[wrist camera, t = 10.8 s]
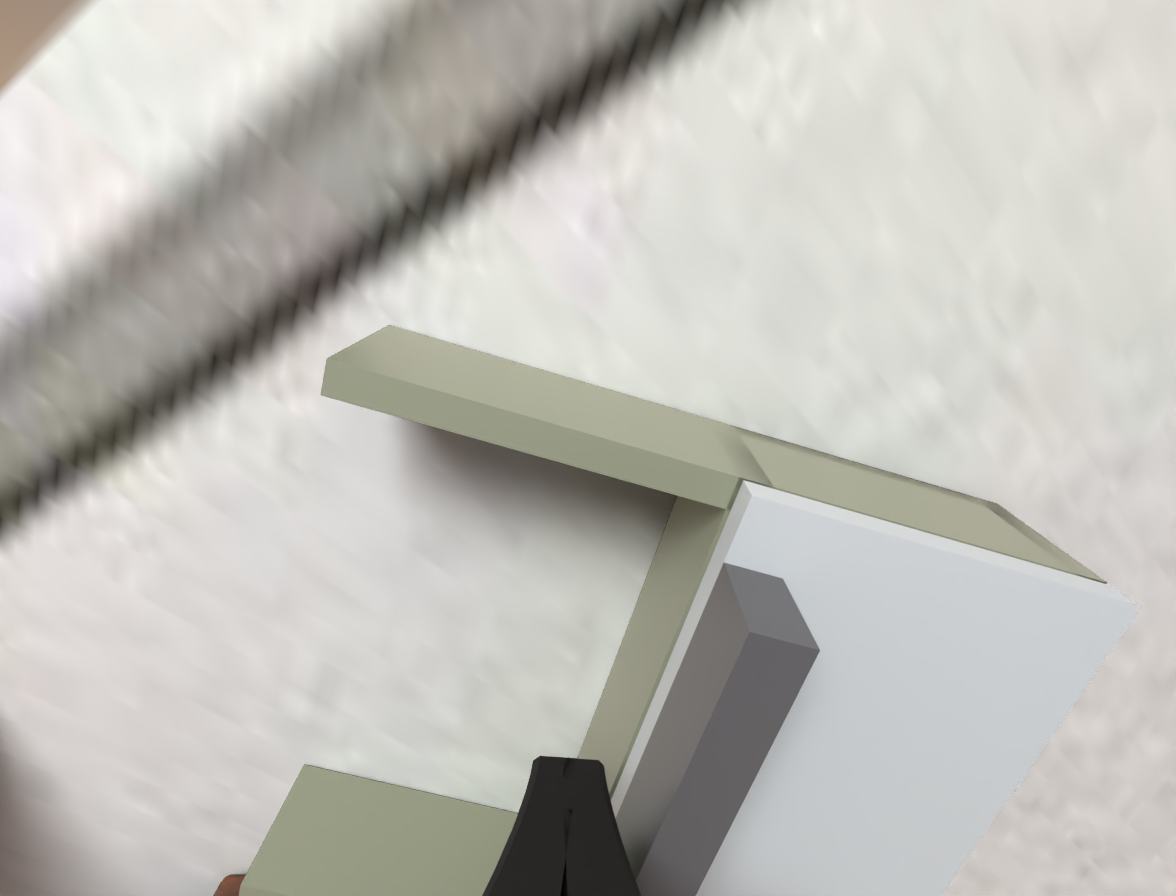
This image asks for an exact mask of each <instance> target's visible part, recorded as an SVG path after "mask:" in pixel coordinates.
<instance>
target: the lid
mask: <svg viewBox="0 0 1176 896" xmlns="http://www.w3.org/2000/svg"><path fill="white" fill-rule="evenodd" d="M1141 607H1142V606H1141V605H1139V604H1138V603H1136V602H1135V601H1134V600H1132V599H1131V598H1129V597H1128V596H1127V595H1125V594H1124V593H1122V592H1121V591H1120V590H1118V589H1117V588H1115V587H1114V586H1111V585H1107V584H1104V583H1100V582H1097V581H1093V580H1090V579H1086V578H1083V577H1079V576H1076V575H1072V574H1069V573H1065V572H1062V571H1058V570H1055V569H1051V568H1048V567H1044V566H1041V565H1037V564H1034V563H1030V562H1027V561H1024V560H1020V559H1017V558H1013V557H1010V556H1006V555H1003V554H999V553H996V552H992V551H989V550H985V549H982V548H978V547H975V546H971V545H968V544H964V543H961V542H957V541H954V540H950V539H947V538H943V537H940V536H936V535H933V534H929V533H926V532H922V531H919V530H915V529H912V528H908V527H905V526H901V525H898V524H894V523H891V522H887V521H884V520H880V519H877V518H874V517H870V516H867V515H863V514H860V513H856V512H853V511H849V510H846V509H842V508H839V507H835V506H832V505H828V504H825V503H821V502H818V501H814V500H811V499H807V498H804V497H800V496H797V495H793V494H790V493H786V492H783V491H779V490H776V489H772V488H769V487H765V486H762V485H758V484H755V483H751V482H748V481H744V480H743V482H742V485H741V487H740V489H739V492H738V494H737V497H736V499H735V502H734V504H733V506H732V509H731V511H730V514H729V516H728V518H727V521H726V523H725V526H724V528H723V531H722V533H721V535H720V538H719V540H718V543H717V545H716V547H715V550H714V552H713V555H712V557H711V560H710V562H709V564H708V567H707V569H706V572H705V574H704V576H703V579H702V581H701V584H700V586H699V589H698V591H697V593H696V596H695V598H694V601H693V603H692V605H691V608H690V610H689V613H688V615H687V618H686V620H685V622H684V625H683V627H682V630H681V632H680V634H679V637H678V639H677V642H676V644H675V647H674V649H673V651H672V654H671V656H670V659H669V661H668V663H667V666H666V668H665V671H664V673H663V675H662V678H661V680H660V683H659V685H658V688H657V690H656V692H655V695H654V697H653V700H652V702H651V704H650V707H649V709H648V712H647V714H646V717H645V719H644V721H643V724H642V726H641V729H640V731H639V733H638V736H637V738H636V741H635V743H634V746H633V748H632V750H631V753H630V755H629V758H628V760H627V762H626V765H625V767H624V770H623V772H622V775H621V777H620V779H619V782H618V784H617V787H616V789H615V791H614V794H613V796H612V799H611V804H612V808H613V812H614V815H615V819H616V822H617V826H618V829H619V833H620V836H621V839H622V842H623V845H624V849H625V852H626V855H627V857H628V860H629V863H630V866H631V869H632V871H633V874H634V877H635V880H636V883H637V886H638V888H639V891H640V894H641V896H942V895H943V893H944V892H945V890H946V889H947V888H948V886H949V885H950V883H951V882H952V880H953V879H954V877H955V876H956V875H957V873H958V872H959V870H960V869H961V867H962V866H963V864H964V863H965V862H966V860H967V859H968V857H969V856H970V854H971V853H972V851H973V850H974V849H975V847H976V846H977V844H978V843H979V841H980V840H981V838H982V837H983V836H984V834H985V833H986V831H987V830H988V828H989V827H990V825H991V824H992V823H993V821H994V820H995V818H996V817H997V815H998V814H999V812H1000V811H1001V810H1002V808H1003V807H1004V805H1005V804H1006V802H1007V801H1008V799H1009V798H1010V797H1011V795H1012V794H1013V792H1014V791H1015V789H1016V788H1017V786H1018V785H1019V784H1020V782H1021V781H1022V779H1023V778H1024V776H1025V775H1026V773H1027V772H1028V771H1029V769H1030V768H1031V766H1032V765H1033V763H1034V762H1035V760H1036V759H1037V758H1038V756H1039V755H1040V753H1041V752H1042V750H1043V749H1044V747H1045V746H1046V745H1047V743H1048V742H1049V740H1050V739H1051V737H1052V736H1053V734H1054V733H1055V732H1056V730H1057V729H1058V727H1059V726H1060V724H1061V723H1062V722H1063V720H1064V719H1065V717H1066V716H1067V714H1068V713H1069V711H1070V710H1071V709H1072V707H1073V706H1074V704H1075V703H1076V701H1077V700H1078V698H1079V697H1080V696H1081V694H1082V693H1083V691H1084V690H1085V688H1086V687H1087V685H1088V684H1089V683H1090V681H1091V680H1092V678H1093V677H1094V675H1095V674H1096V672H1097V671H1098V670H1099V668H1100V667H1101V665H1102V664H1103V662H1104V661H1105V659H1106V658H1107V657H1108V655H1109V654H1110V652H1111V651H1112V649H1113V648H1114V646H1115V645H1116V644H1117V642H1118V641H1119V639H1120V638H1121V636H1122V635H1123V633H1124V632H1125V631H1126V629H1127V628H1128V626H1129V625H1130V623H1131V622H1132V620H1133V619H1134V618H1135V616H1136V615H1137V613H1138V612H1139V610H1140V609H1141Z"/></svg>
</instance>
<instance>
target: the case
mask: <svg viewBox="0 0 1176 896" xmlns="http://www.w3.org/2000/svg"><path fill="white" fill-rule="evenodd" d="M321 395H322V396H325V397H329V398H332V399H336V400H340V401H343V402H347V403H350V404H354V405H357V406H361V407H364V408H368V409H371V410H375V411H379V412H382V413H386V414H389V415H393V416H396V417H400V418H403V419H407V420H411V421H414V422H418V423H421V424H425V425H428V426H432V427H435V428H439V429H443V430H446V431H450V432H453V433H457V434H460V435H464V436H467V437H471V438H474V439H478V440H482V441H485V442H489V443H492V444H496V445H499V446H503V447H506V448H510V449H514V450H517V451H521V452H524V453H528V454H531V455H535V456H538V457H542V458H546V459H549V460H553V461H556V462H560V463H563V464H567V465H570V466H574V467H577V468H581V469H585V470H588V471H592V472H595V473H599V474H602V475H606V476H609V477H613V478H617V479H620V480H624V481H627V482H631V483H634V484H638V485H641V486H645V487H648V488H652V489H656V490H659V491H663V492H666V493H670V494H673V495H677V498H676V501H675V503H674V506H673V509H672V511H671V514H670V517H669V519H668V522H667V524H666V527H665V530H664V532H663V535H662V538H661V540H660V543H659V546H658V548H657V551H656V553H655V556H654V559H653V561H652V564H651V567H650V569H649V572H648V575H647V577H646V580H645V582H644V585H643V588H642V590H641V593H640V596H639V598H638V601H637V604H636V606H635V609H634V611H633V614H632V617H631V619H630V622H629V625H628V627H627V630H626V632H625V635H624V638H623V640H622V643H621V646H620V648H619V651H618V654H617V656H616V659H615V661H614V664H613V667H612V669H611V672H610V675H609V677H608V680H607V683H606V685H605V688H604V690H603V693H602V696H601V698H600V701H599V704H598V706H597V709H596V712H595V714H594V717H593V719H592V722H591V725H590V727H589V730H588V733H587V735H586V738H585V741H584V743H583V746H582V748H581V751H580V754H579V756H578V759H591V760H599V761H600V762H601V763H602V764H603V765H604V768H605V776H606V781H607V786H608V791H609V796H610V800H611V799H612V796H613V794H614V791H615V789H616V787H617V784H618V782H619V779H620V777H621V775H622V772H623V770H624V767H625V765H626V762H627V760H628V758H629V755H630V753H631V750H632V748H633V746H634V743H635V741H636V738H637V736H638V733H639V731H640V729H641V726H642V724H643V721H644V719H645V717H646V714H647V712H648V709H649V707H650V704H651V702H652V700H653V697H654V695H655V692H656V690H657V688H658V685H659V683H660V680H661V678H662V675H663V673H664V671H665V668H666V666H667V663H668V661H669V659H670V656H671V654H672V651H673V649H674V647H675V644H676V642H677V639H678V637H679V634H680V632H681V630H682V627H683V625H684V622H685V620H686V618H687V615H688V613H689V610H690V608H691V605H692V603H693V601H694V598H695V596H696V593H697V591H698V589H699V586H700V584H701V581H702V579H703V576H704V574H705V572H706V569H707V567H708V564H709V562H710V560H711V557H712V555H713V552H714V550H715V547H716V545H717V543H718V540H719V538H720V535H721V533H722V531H723V528H724V526H725V523H726V521H727V518H728V516H729V514H730V511H731V509H732V506H733V504H734V502H735V499H736V497H737V494H738V492H739V489H740V487H741V485H742V482H743V480H744V481H748V482H751V483H755V484H758V485H762V486H765V487H769V488H772V489H776V490H779V491H783V492H786V493H790V494H793V495H797V496H800V497H804V498H807V499H811V500H814V501H818V502H821V503H825V504H828V505H832V506H835V507H839V508H842V509H846V510H849V511H853V512H856V513H860V514H863V515H867V516H870V517H874V518H877V519H880V520H884V521H887V522H891V523H894V524H898V525H901V526H905V527H908V528H912V529H915V530H919V531H922V532H926V533H929V534H933V535H936V536H940V537H943V538H947V539H950V540H954V541H957V542H961V543H964V544H968V545H971V546H975V547H978V548H982V549H985V550H989V551H992V552H996V553H999V554H1003V555H1006V556H1010V557H1013V558H1017V559H1020V560H1024V561H1027V562H1030V563H1034V564H1037V565H1041V566H1044V567H1048V568H1051V569H1055V570H1058V571H1062V572H1065V573H1069V574H1072V575H1076V576H1079V577H1083V578H1086V579H1090V580H1093V581H1097V582H1100V583H1104V584H1106V583H1107V582H1106V581H1104V580H1103V579H1101V578H1100V577H1099V576H1097V575H1096V574H1094V573H1093V572H1092V571H1090V570H1089V569H1087V568H1086V567H1085V566H1083V565H1082V564H1081V563H1079V562H1078V561H1076V560H1075V559H1074V558H1072V557H1071V556H1069V555H1068V554H1067V553H1065V552H1064V551H1062V550H1061V549H1060V548H1058V547H1057V546H1055V545H1054V544H1053V543H1051V542H1050V541H1048V540H1047V539H1046V538H1044V537H1043V536H1041V535H1040V534H1039V533H1037V532H1036V531H1035V530H1033V529H1032V528H1030V527H1029V526H1028V525H1026V524H1025V523H1023V522H1022V521H1021V520H1019V519H1018V518H1016V517H1015V516H1014V515H1012V514H1011V513H1009V512H1008V511H1007V510H1005V509H1004V508H1002V507H1001V506H1000V505H998V504H996V503H993V502H990V501H986V500H983V499H979V498H976V497H973V496H969V495H966V494H962V493H959V492H956V491H952V490H949V489H946V488H942V487H939V486H935V485H932V484H929V483H925V482H922V481H918V480H915V479H912V478H908V477H905V476H901V475H898V474H895V473H891V472H888V471H884V470H881V469H878V468H874V467H871V466H867V465H864V464H861V463H857V462H854V461H850V460H847V459H844V458H840V457H837V456H833V455H830V454H827V453H823V452H820V451H816V450H813V449H810V448H806V447H803V446H799V445H796V444H793V443H789V442H786V441H782V440H779V439H776V438H772V437H769V436H765V435H762V434H759V433H755V432H752V431H748V430H745V429H742V428H738V427H735V426H731V425H728V424H725V423H721V422H718V421H714V420H711V419H708V418H704V417H701V416H697V415H694V414H691V413H687V412H684V411H680V410H677V409H674V408H670V407H667V406H663V405H660V404H657V403H653V402H650V401H646V400H643V399H640V398H636V397H633V396H629V395H626V394H623V393H619V392H616V391H612V390H609V389H606V388H602V387H599V386H595V385H592V384H589V383H585V382H582V381H578V380H575V379H572V378H568V377H565V376H561V375H558V374H555V373H551V372H548V371H544V370H541V369H538V368H534V367H531V366H527V365H524V364H521V363H517V362H514V361H510V360H507V359H504V358H500V357H497V356H493V355H490V354H487V353H483V352H480V351H476V350H473V349H470V348H466V347H463V346H459V345H456V344H453V343H449V342H446V341H443V340H439V339H436V338H432V337H429V336H426V335H422V334H419V333H415V332H412V331H409V330H405V329H402V328H398V327H395V326H392V325H388V326H386V327H384V328H382V329H381V330H379V331H377V332H375V333H373V334H371V335H369V336H368V337H366V338H364V339H362V340H360V341H358V342H357V343H355V344H353V345H351V346H349V347H347V348H345V349H344V350H342V351H340V352H338V353H336V354H334V355H332V356H331V357H329V358H327V360H326V366H325V372H324V378H323V384H322V390H321ZM517 815H518V813H514V812H509V811H505V810H501V809H496V808H492V807H488V806H483V805H479V804H475V803H470V802H466V801H462V800H457V799H453V798H448V797H444V796H440V795H435V794H431V793H427V792H422V791H418V790H414V789H409V788H405V787H401V786H396V785H392V784H387V783H383V782H379V781H374V780H370V779H366V778H361V777H357V776H353V775H348V774H344V773H340V772H335V771H331V770H326V769H322V768H318V767H313V766H309V765H305V764H304V766H303V767H302V769H301V771H300V773H299V775H298V777H297V779H296V781H295V783H294V785H293V786H292V788H291V790H290V792H289V794H288V796H287V798H286V800H285V802H284V803H283V805H282V807H281V809H280V811H279V813H278V815H277V817H276V819H275V821H274V822H273V824H272V826H271V828H270V830H269V832H268V834H267V836H266V838H265V840H264V841H263V843H262V845H261V847H260V849H259V851H258V853H257V855H256V857H255V859H254V860H253V862H252V864H251V866H250V868H249V870H248V872H247V874H246V876H245V878H244V879H243V881H242V883H241V885H240V891H239V896H482V895H483V893H484V891H485V889H486V887H487V885H488V883H489V881H490V879H491V876H492V874H493V872H494V870H495V868H496V866H497V863H498V861H499V859H500V856H501V854H502V852H503V849H504V847H505V845H506V842H507V840H508V838H509V835H510V833H511V831H512V828H513V826H514V823H515V821H516V818H517Z"/></svg>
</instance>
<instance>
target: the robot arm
mask: <svg viewBox="0 0 1176 896" xmlns="http://www.w3.org/2000/svg"><path fill="white" fill-rule="evenodd" d="M482 896H641V894H640V891H639V888H638V886H637V883H636V880H635V877H634V874H633V871H632V869H631V866H630V863H629V860H628V857H627V855H626V852H625V849H624V845H623V842H622V839H621V836H620V833H619V829H618V826H617V822H616V819H615V815H614V812H613V808H612V804H611V800H610V796H609V791H608V786H607V781H606V776H605V768H604V765H603V764H602V763H601V762H600V761H599V760H591V759H577V758H562V757H547V756H539V757H538V758H536V759H535V760H534V761H533V764H532V770H531V775H530V778H529V782H528V786H527V789H526V792H525V795H524V799H523V801H522V804H521V807H520V810H519V813H518V815H517V818H516V821H515V823H514V826H513V828H512V831H511V833H510V835H509V838H508V840H507V842H506V845H505V847H504V849H503V852H502V854H501V856H500V859H499V861H498V863H497V866H496V868H495V870H494V872H493V874H492V876H491V879H490V881H489V883H488V885H487V887H486V889H485V891H484V893H483V895H482Z"/></svg>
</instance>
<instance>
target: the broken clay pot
mask: <svg viewBox="0 0 1176 896" xmlns="http://www.w3.org/2000/svg"><path fill="white" fill-rule="evenodd" d="M245 876H246V875H229V876H227V877H225V878H224V879H223V881H222V882H221V883H220V885H219V887H218V888H217V890H216V892H215V894H214V895H213V896H239V891H240V885H241V883H242V881H243V879H244V878H245Z"/></svg>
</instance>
